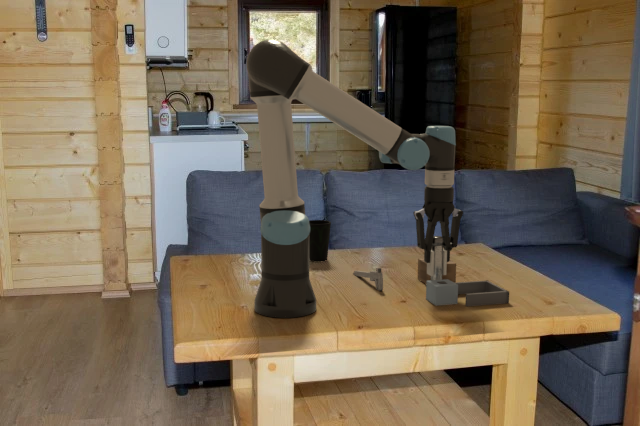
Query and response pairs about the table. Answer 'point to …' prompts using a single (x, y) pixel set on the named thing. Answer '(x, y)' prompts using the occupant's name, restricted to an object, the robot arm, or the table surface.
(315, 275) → the table surface
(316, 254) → the cup
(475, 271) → the table surface
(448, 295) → the block
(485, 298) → the corral
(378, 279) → the caliper
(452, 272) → the bore block
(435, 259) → the cylinder
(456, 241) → the robot arm
